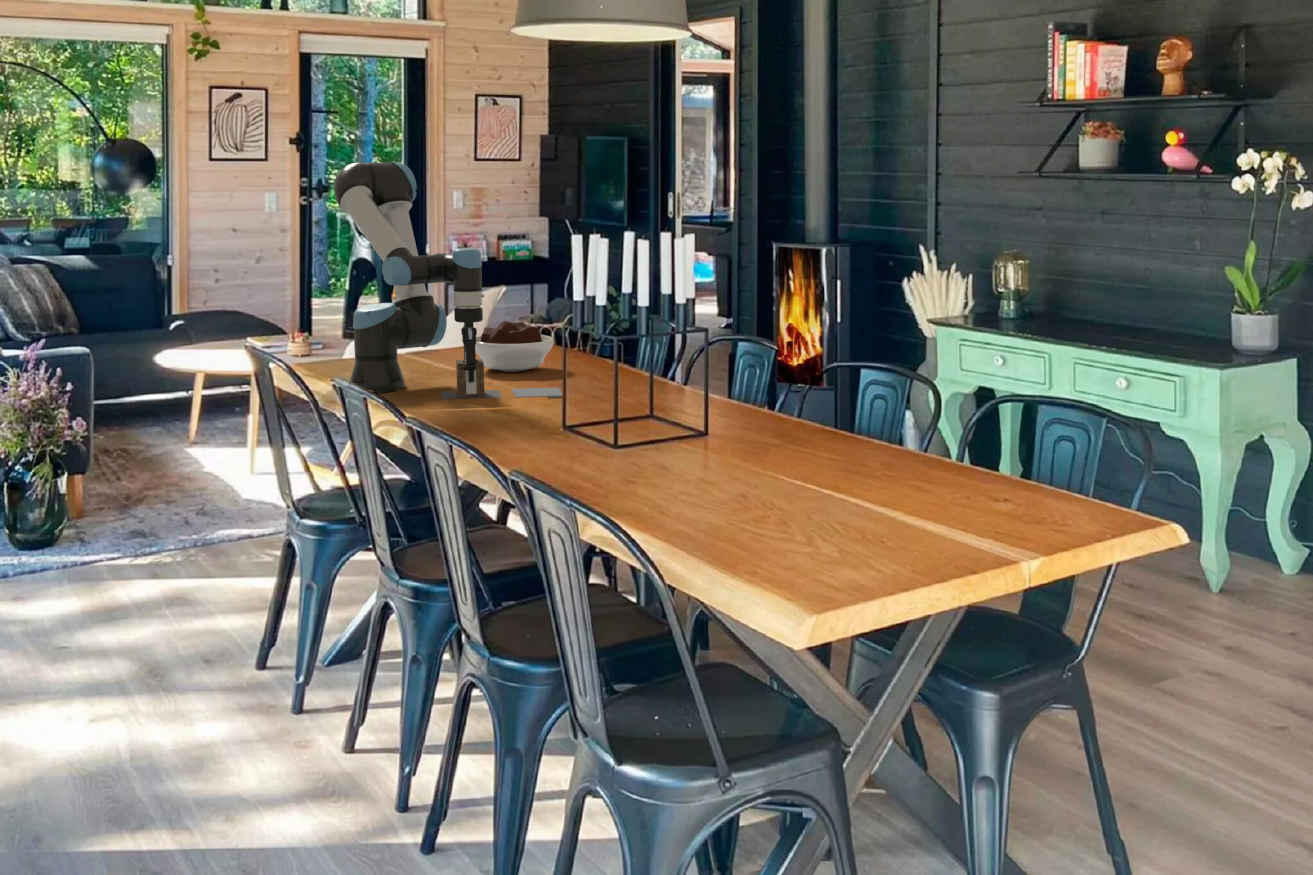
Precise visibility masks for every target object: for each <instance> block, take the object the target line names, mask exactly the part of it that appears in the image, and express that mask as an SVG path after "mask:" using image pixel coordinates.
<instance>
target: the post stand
mask: <svg viewBox="0 0 1313 875" xmlns="http://www.w3.org/2000/svg"><path fill="white" fill-rule="evenodd" d="M465 363H466V352H465ZM493 398H494V399H495V398H496V399H497V398H503V396H502V394H501V392H500V390H499V389H488V390H487V389H484V396H476V397H458V394H457V390H454V391H452V390H451V391H450V390H449V391H440V399H441V400H463V399H464V400H468V399H493Z"/></svg>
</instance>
